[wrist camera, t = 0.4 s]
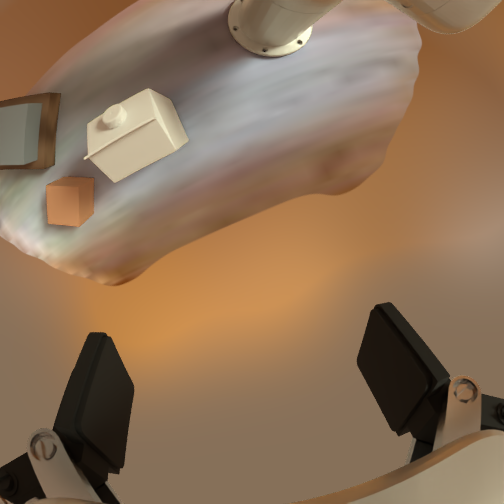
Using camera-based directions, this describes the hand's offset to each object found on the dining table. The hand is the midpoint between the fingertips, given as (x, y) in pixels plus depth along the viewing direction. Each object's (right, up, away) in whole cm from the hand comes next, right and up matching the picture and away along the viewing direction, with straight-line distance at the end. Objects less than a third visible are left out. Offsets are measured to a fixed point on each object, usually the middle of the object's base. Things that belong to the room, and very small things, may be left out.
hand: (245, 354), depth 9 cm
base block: (-37, +24, +23) cm, 50 cm away
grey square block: (-36, +22, +19) cm, 47 cm away
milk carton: (-13, +21, +27) cm, 37 cm away
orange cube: (-28, +13, +29) cm, 42 cm away
